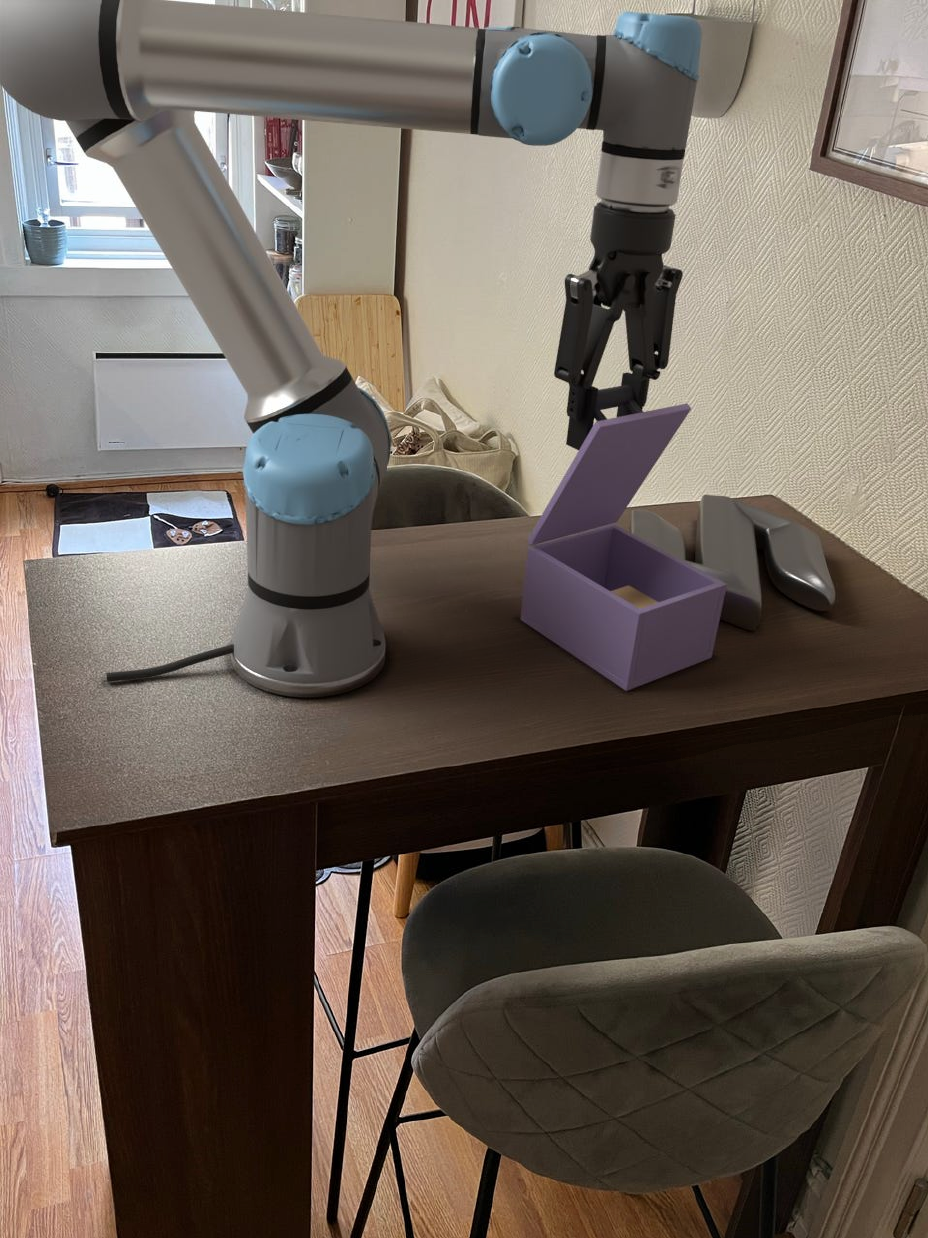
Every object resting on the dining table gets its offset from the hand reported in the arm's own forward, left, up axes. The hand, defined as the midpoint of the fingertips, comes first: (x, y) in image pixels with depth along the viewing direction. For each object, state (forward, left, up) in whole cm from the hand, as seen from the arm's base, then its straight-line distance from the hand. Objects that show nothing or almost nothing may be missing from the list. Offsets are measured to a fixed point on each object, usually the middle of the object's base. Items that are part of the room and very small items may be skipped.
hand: (602, 442), depth 113 cm
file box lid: (0, -2, -3) cm, 4 cm away
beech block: (0, -7, -19) cm, 21 cm away
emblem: (+23, -1, -20) cm, 31 cm away
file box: (0, -6, -20) cm, 21 cm away
